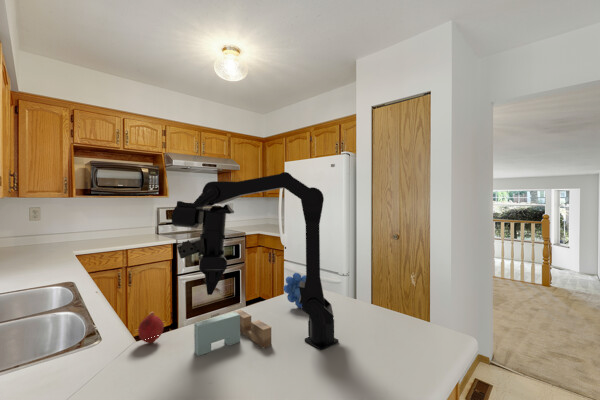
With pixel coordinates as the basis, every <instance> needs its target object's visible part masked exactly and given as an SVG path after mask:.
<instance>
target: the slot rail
mask: <svg viewBox="0 0 600 400" xmlns="http://www.w3.org/2000/svg"><path fill="white" fill-rule="evenodd" d="M234 312H236V313H238V314H240V334H243V335H244V336H245V337H246V338H248V339H250V340H251V341H253V343H256V344H257V345H258V346H260V347H261V348H263V349H265V348H266V347H269V346H272V326H271V325H268V324H267V323H265V322H263V321H261V320H260V319H258V320H253V321H252V315H251V314H250V313H248V312H245V311H244V310H242V309H239V310H236V311H234Z"/></svg>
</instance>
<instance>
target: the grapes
mask: <svg viewBox="0 0 600 400" xmlns="http://www.w3.org/2000/svg"><path fill="white" fill-rule="evenodd" d="M305 279H306V274H303V275H301V274H300V273H299V272H294V273H293V274H292V276H290V275H288V276H286V278H285V282H286V284H285V285H284V286H283V291H284V293H286V294H287V295H286V298H287V301H288V302H290V303H294V305H295V306H296V307H297V308H299V309H302V303H301V304H299V301H300V289H299V286H300V281H302V282H305Z"/></svg>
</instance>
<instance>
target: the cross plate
mask: <svg viewBox="0 0 600 400" xmlns="http://www.w3.org/2000/svg"><path fill="white" fill-rule="evenodd" d="M193 325H194V329H193V333H194V337H193V338H194V340H193V341H194V343H193V344H194V349H193V350H194V353H195V355H196V356H198V357H199V355H200V356H203V355H205V353H206V354H208V352H209V353H211V352H212V344H213V343H216V342H219V341H223V340H224V343H225V344H226V345H227V344H228V345H227V346H232V345H234V343H235V344H238V343H240V342H241V332H240V314H238V313H236V312H235V311H233V312H231V313H228V314H223V315H219V316H216V317H212V318H208V319H204V320H201V321H196V322H194V324H193Z"/></svg>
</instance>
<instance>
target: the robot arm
mask: <svg viewBox="0 0 600 400" xmlns="http://www.w3.org/2000/svg"><path fill="white" fill-rule="evenodd" d="M281 189H285V190H286V191H288V192H290V193H291V194H292V195H294V196H295V197H297V198H298V199H299V200H300V202H301V208H302V212H303V218H304V223H305V275H306V279H305V282H302V281H300V286H299V289H300V301H299V304H301V303H302V307H301V309H302V311H303V312H304V313H305V314H306V315H308V321H307V325H308V327H307V328H308V330H307V331H308V337H305V338H304V341H305V342H306V343H308V344H310V345H311V346H313V347H315V348H316V349H318V350H325V349H326V348H328V347H331V346H332V345H333V346H334V345H335V344H338V343H339V339H337V338H336V337H335V319H334V311H333V306H332V304H331V303H330V301H329V300H327V299H326V298H325V296H324V290H323V285H322V280H321V256H320V255H321V253H320V250H321V249H320V248H321V246H320V245H321V241H320V240H321V239H320V223H321V217H322V212H323V206H324V201H325V199H324V193H323V192H322V191H321V190H320V189H319V188H317V187H311V186H310V187H309V186H308V185H306V184H305V183H303V182H302V181H300V180H298V179H297V178H295V177H294V176H292V174H291V173H289V172H286V171H283V172H281V173H278V174H272V175H266V176H262V177H255V178H251V179H245V180H239V181H224V180H223V181H222V180H221V181H214V180H213V181H209V182H207V183H205V185H204V186H203V189H202V191H201V192H202V193H201V194H200V195H199V196H198V197H197V198H196V199H195V200H194V201H193V202H189V201H183V200H182V201H181V200H178V201H176V206H174V208H173V210H172V213H171V217H170V218H171V223H172V226H173V227H178V228H179V227H180V228H189V229H190V228H191V229H197V228H199V227H200V226H201V225H202V228H201V232H200V233H199V237H197V238H193V239H190V240H189V239H187V240H186V241H182V242H181V243H178V244H177V245H176V249H177V252H178V255H179V259H186V258H187V257H189V256H192V255H196V254H197V256H198V257H197V258H198V260H199V262H198V269H199V271H200V272H201V273H202V274H204V280H205V285H206V286H205V287H206V294H207V295H208V296H212V295H213V293H214V291H215V289H216V287H217V286H218V283H220V280H221V278H222V277H223V274H224V273H225V272H226V270H227V267H228V266H227V265H228V260H227V258H226V257H225V256H224V254H225V250H224V244H225V243H224V242H225V239H226V234H225V233H226V231H225V230H226V218H227V214H229V215H231V214H235V211H234V209H232V208H231V207H230V205H229V204H225V203H228V202H231V201H233V200H236V199H239V198H241V197H243V196H248V195H254V194H258V193H264V192H269V191H270V192H271V191H276V190H281ZM222 204H224V206H216V205H222ZM204 207H206V208H207V207H210V209H208V208H207V209H205V208H204Z"/></svg>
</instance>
